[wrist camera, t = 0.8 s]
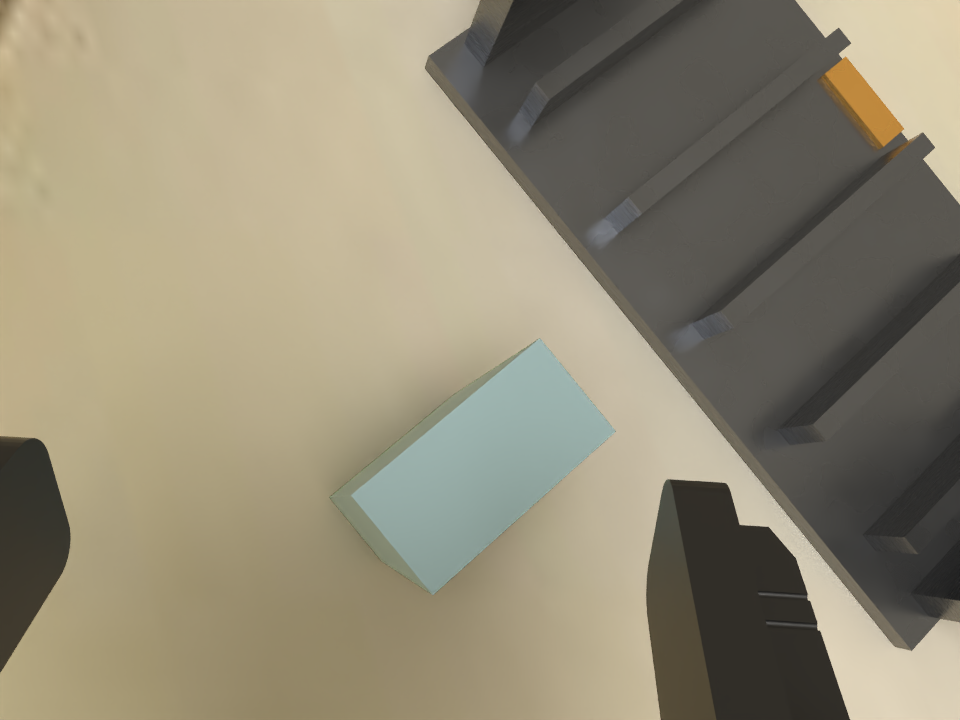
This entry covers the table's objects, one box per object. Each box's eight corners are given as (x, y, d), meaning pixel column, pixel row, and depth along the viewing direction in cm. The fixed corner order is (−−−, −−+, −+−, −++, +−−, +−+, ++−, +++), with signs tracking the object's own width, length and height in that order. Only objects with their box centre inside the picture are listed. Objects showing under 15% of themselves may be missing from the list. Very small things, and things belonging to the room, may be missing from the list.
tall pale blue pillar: (329, 497, 32) (350, 495, 21) (454, 394, 34) (539, 338, 22) (381, 561, 32) (432, 595, 21) (503, 455, 34) (615, 431, 22)
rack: (424, 68, 35) (517, -232, 21) (686, -114, 39) (916, -472, 25) (895, 646, 36) (1306, 746, 21) (1107, 410, 40) (1577, 358, 25)
